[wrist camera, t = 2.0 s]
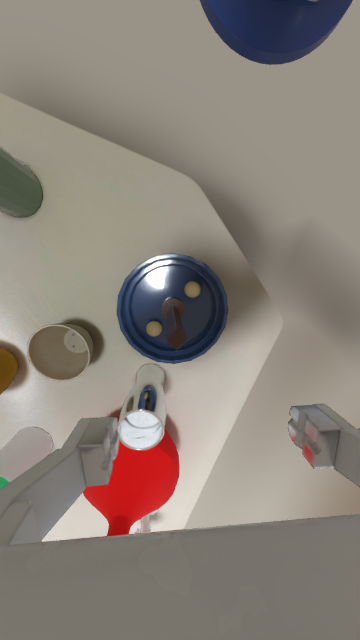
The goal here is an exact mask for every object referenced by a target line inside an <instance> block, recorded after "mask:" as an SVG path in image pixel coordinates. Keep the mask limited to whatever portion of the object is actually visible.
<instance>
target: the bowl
mask: <svg viewBox="0 0 360 640" xmlns="http://www.w3.org/2000/svg"><path fill="white" fill-rule="evenodd" d="M191 281H194V282H197V283H198V284H199V285H200V288H201V290H200V293H199V295H198V296H197V297H194V298H191V297H188V296H187V295H186V294H185V291H184V288H185V285H186V284H187V283H188V282H191ZM170 297H176V298H178V299H180V300H181V301H182V303H183V304H184V307H185V313H184V316H183V317H182V318H181V321H182V325H183V328H184V332H185V335H186V339H187V341H186V342H185V343H184V344H183V345H182V346H181V347H180V348H179V349H178V350H176V349H175V348H174V347H172V346H171V345H170V344H169V343H168V342H167V341H166V334H167V320H166V319H165V318H164V317H163V315H162V313H161V307H162V304H163V302H164V301H165V300H166V299H167V298H170ZM227 314H228V305H227V296H226V292H225V290H224V288H223V286H222V284H221V281H220V279H219V278H218V277H217V275H216V274H215V273H214V272H213V271H212V270H211V269H210V268H209V267H208V266H207V265H206V264H204V263H202V262H200V261H198V260H196V259H195V258H193V257H190V256H185V255H179V254H166V255H160V256H154V257H152V258H150V259H148V260H147V261H145V262H143V263H141V264H139V265H138V266H137V267H136V268H135V269H134V270H133V271H132V272H131V273H130V274H129V275H128V277H127V278H126V279H125V281H124V283H123V285H122V288H121V290H120V292H119V295H118V303H117V316H118V320H119V324H120V329H121V331H122V333H123V334H124V336H125V337H126V339H127V341H128V342H129V344H130V345H131V346H132V347H134V348H135V349H136V350H137V351H138V352H139V353H140V354H142V355H143V356H145V357H148V358H150V359H152V360H155V361H157V362H163V363H172V364H175V363H181V362H187V361H191V360H193V359H195V358H197V357H199V356H201V355H203V354H205V353H206V352H207V351H208V350H209V349H210V348H211V347H212V346H213V345H214V344H215V343H216V342H217V341H218V339H219V337H220V335H221V333H222V332H223V330H224V328H225V324H226V319H227ZM151 321H157V322H159V323H160V324H161V326H162V331H161V333H160V334H159V335H158V336H155V337H154V336H150V335H149V334H148V333H147V331H146V327H147V324H148V323H149V322H151Z"/></svg>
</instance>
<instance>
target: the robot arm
mask: <svg viewBox="0 0 360 640" xmlns="http://www.w3.org/2000/svg"><path fill="white" fill-rule="evenodd" d="M308 1H312V2H317V1H319V0H308ZM289 414H290V416H291V417H292V418H291V420H290V421H289V422H288V431H289V435H290V437H291V439H292V441H293V442H294V444H295V445H296V446H298V447H299V448H301V449H302V451H303V452H302V454H303V455H304V457H305V458H306V459H307V461H308V462H309V463H310V465H311V466H312V467H313V469H320V468H334V469H335V470H336V471H338V472H339V473H341V474H342V475H343V476H345V477H346V478H347V479H349V480H350V481H352V482H353V483H354V484H356V485H357V486H359V487H360V429H356V428H355V427H354V426H352V425H351V424H350V423H348V422H347V421H346V420H345V419H343V418H342V417H341V416H340V415H338V414H337V413H336V412H335V411H333V410H332V409H331V408H330V407H328V406H327V405H325V404H313V405H305V406H292V407H291V408H290V411H289ZM117 425H118V423H117V418H116V417H101V418H82V419H81V420H80V421H79V422H78V424H77V425H76V427H75V428H74V430H73V431H72V433H71V434H70V436H69V437H68V439H67V441H66V442H65V444H64V445H63V447H62V448H61V449H57V450H55V451H54V452H53V453H51V454H50V455H48V456H47V457H45V458H44V459H43V460H41V461H40V462H38V463H37V464H35V465H34V466H33V467H31V468H30V469H28V470H27V471H26V472H24V473H23V474H21V475H20V476H18V477H17V478H16V479H14V480H13V481H11V482H10V483H8V484H7V485H6V486H4V487H3V488H1V489H0V640H360V514H353V515H341V516H330V517H319V518H307V519H297V520H286V521H274V522H263V523H252V524H240V525H228V526H217V527H207V528H194V529H183V530H172V531H160V532H149V533H138V534H126V535H115V536H104V537H93V538H81V539H70V540H59V541H47V542H42V541H41V540H42V539H43V538H44V537H45V535H46V534H47V533H48V532H49V531H50V530H51V528H52V527H53V526H54V525H55V524H56V523H57V521H58V520H59V519H60V518H61V517H62V516H63V514H64V513H65V512H66V511H67V510H68V509H69V507H70V506H71V505H72V504H73V503H74V502H75V500H76V499H77V498H78V497H79V496H80V495H81V493H82V492H83V491H84V490H85V489H86V487H90V486H99V485H108V483H109V480H110V477H111V474H112V470H113V461H114V460H115V459H116V457H117V453H118V448H119V433H118V432H117V431H116V428H117Z"/></svg>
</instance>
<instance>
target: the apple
mask: <svg viewBox="0 0 360 640" xmlns="http://www.w3.org/2000/svg"><path fill="white" fill-rule="evenodd" d="M17 370H18V362H17V360H16V358H15V356H14V355H13V354H12V353H10V352H9V351H8V350H6V349H3V348H1V347H0V394H1V393H2V392H3V391H4V390H5V389H6V388H7V387H8V386H9V384H10V383H11V381H12V380H13V378H14V376H15V375H16V373H17Z"/></svg>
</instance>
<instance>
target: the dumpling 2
mask: <svg viewBox="0 0 360 640" xmlns="http://www.w3.org/2000/svg"><path fill="white" fill-rule="evenodd" d="M200 290H201V288H200V285H199V284H198V283H197V282H194V281H191V282H188V283H187V284H186V285H185V288H184V291H185V294H186V295H187V296H188V297H191V298H194V297H197V296H198V295H199V293H200Z"/></svg>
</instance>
